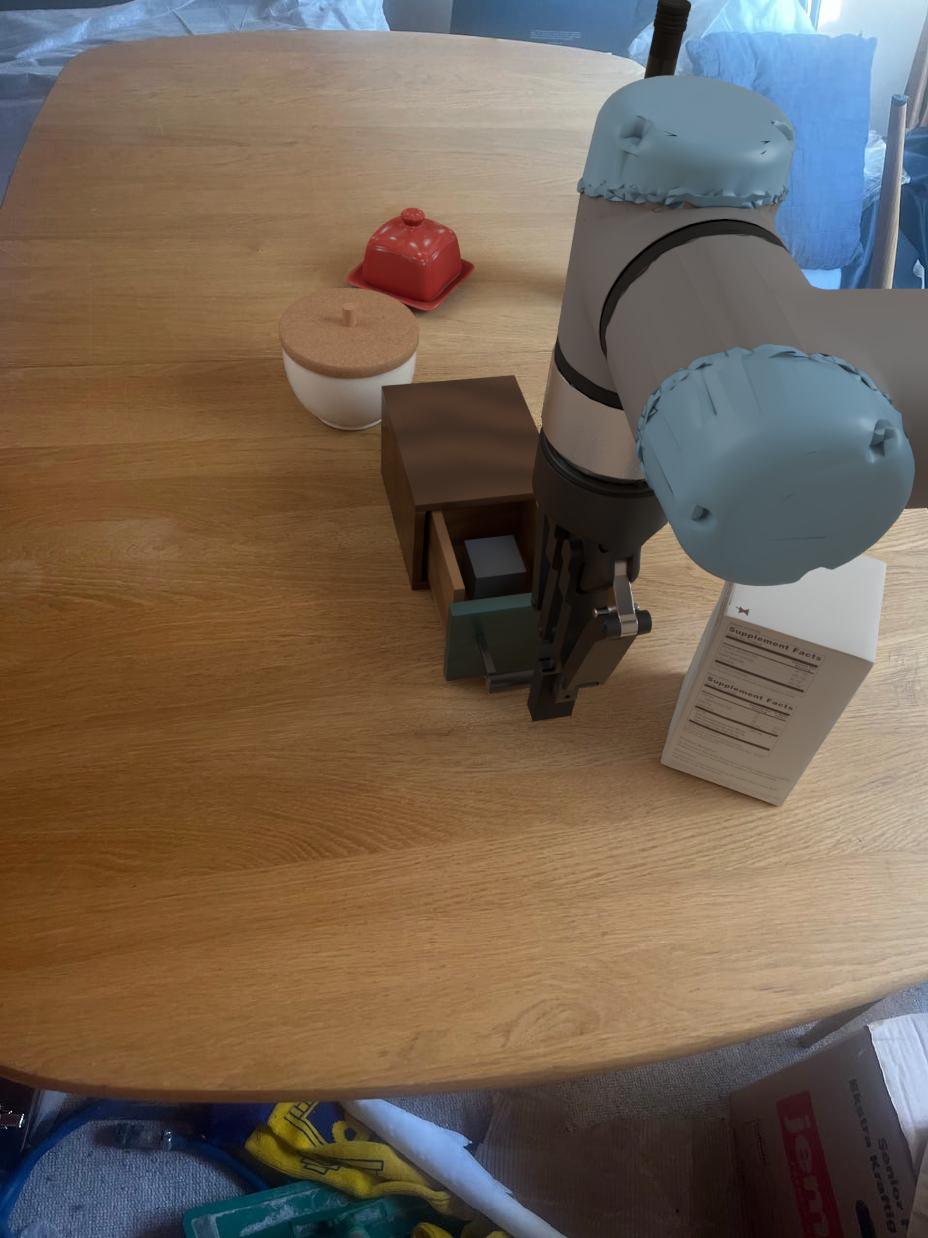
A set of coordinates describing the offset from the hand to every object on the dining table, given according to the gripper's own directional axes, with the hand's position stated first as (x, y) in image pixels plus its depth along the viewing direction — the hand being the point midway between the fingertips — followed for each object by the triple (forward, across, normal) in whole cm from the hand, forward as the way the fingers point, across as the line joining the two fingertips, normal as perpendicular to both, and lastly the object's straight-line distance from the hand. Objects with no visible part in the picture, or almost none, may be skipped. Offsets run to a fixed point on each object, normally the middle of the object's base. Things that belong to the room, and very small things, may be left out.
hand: (548, 709), depth 65 cm
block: (+4, +15, 0) cm, 15 cm away
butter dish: (+7, +63, -3) cm, 63 cm away
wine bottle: (+7, +57, -25) cm, 62 cm away
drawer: (+5, +11, 0) cm, 13 cm away
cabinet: (+6, +25, 0) cm, 25 cm away
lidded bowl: (+7, +42, +7) cm, 43 cm away
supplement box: (+6, -1, -15) cm, 16 cm away
